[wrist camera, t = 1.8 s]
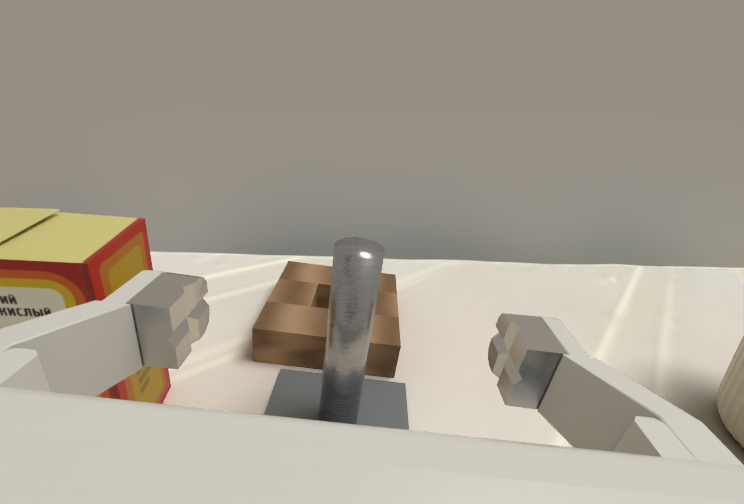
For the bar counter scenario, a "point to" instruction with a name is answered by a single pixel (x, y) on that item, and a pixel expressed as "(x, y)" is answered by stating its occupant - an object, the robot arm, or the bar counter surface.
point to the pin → (349, 327)
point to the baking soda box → (73, 274)
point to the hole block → (320, 321)
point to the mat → (303, 391)
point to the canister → (733, 396)
